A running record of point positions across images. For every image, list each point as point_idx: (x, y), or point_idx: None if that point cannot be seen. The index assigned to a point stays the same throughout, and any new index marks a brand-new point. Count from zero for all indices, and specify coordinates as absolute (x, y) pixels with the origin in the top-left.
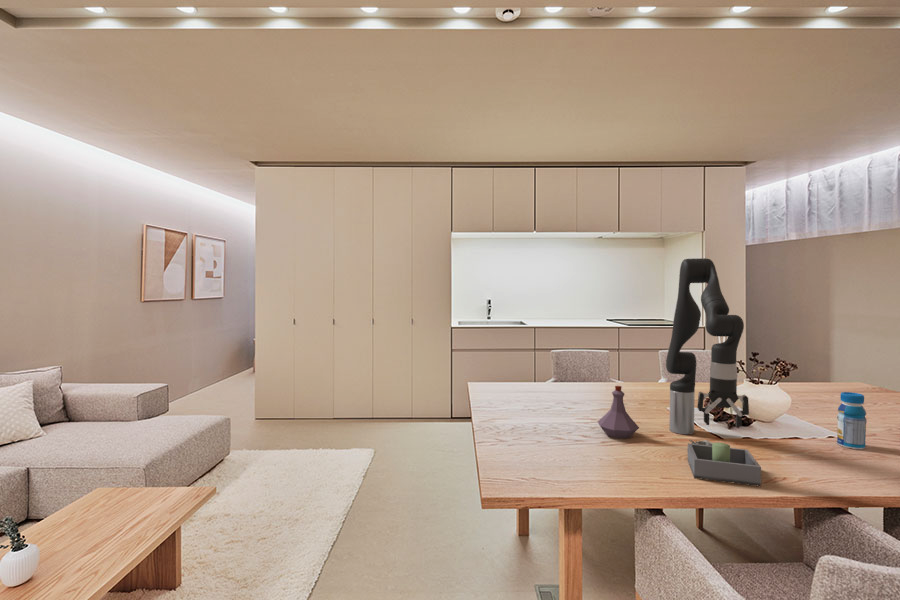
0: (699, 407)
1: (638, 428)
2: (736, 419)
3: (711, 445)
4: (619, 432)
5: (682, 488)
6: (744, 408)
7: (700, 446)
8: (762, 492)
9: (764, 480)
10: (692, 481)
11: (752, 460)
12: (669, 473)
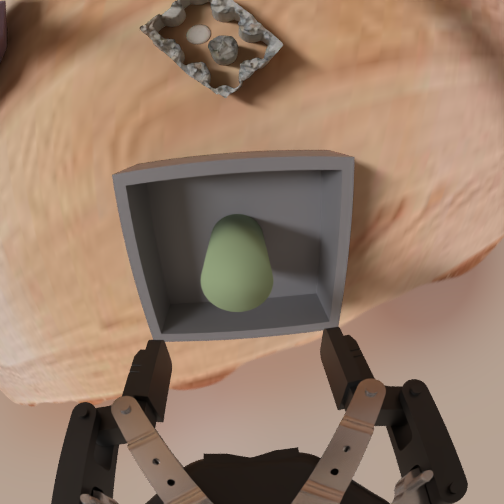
0: (99, 449)
1: (2, 37)
2: (334, 378)
3: (230, 12)
4: None
5: None
6: (394, 448)
7: (162, 179)
8: None
9: None
10: None
11: (334, 281)
12: (109, 296)
